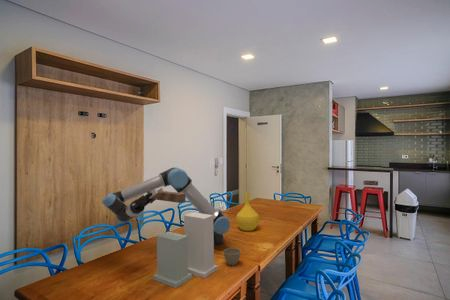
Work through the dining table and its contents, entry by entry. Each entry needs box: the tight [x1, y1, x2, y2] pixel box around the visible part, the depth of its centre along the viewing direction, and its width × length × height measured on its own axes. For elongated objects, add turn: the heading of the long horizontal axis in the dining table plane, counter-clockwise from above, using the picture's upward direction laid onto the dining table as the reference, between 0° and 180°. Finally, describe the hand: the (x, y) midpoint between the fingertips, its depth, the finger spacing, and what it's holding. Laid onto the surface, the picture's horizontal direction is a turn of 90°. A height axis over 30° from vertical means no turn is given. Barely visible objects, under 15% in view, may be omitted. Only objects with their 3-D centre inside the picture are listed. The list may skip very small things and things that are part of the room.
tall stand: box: [183, 212, 219, 279], centre depth 145 cm, size 16×12×30 cm
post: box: [152, 231, 193, 289], centre depth 136 cm, size 16×12×22 cm
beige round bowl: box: [222, 247, 242, 266], centre depth 153 cm, size 10×10×7 cm
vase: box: [235, 192, 260, 232], centre depth 216 cm, size 18×18×30 cm
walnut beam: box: [146, 189, 187, 204], centre depth 138 cm, size 24×4×4 cm, turn 56°
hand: (159, 190), depth 140 cm, fingers closed on walnut beam, 4 cm apart
